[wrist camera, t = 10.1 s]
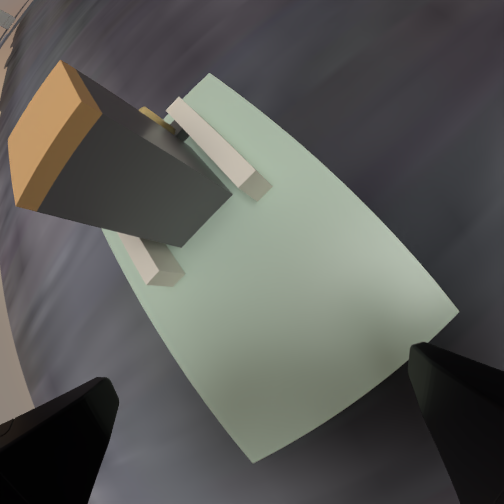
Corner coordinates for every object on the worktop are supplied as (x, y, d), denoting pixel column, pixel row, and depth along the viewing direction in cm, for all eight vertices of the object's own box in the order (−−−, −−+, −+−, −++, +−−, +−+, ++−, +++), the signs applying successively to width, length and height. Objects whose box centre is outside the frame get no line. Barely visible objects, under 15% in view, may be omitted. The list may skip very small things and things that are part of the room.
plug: (232, 194, 18) (81, 101, 8) (181, 247, 19) (15, 205, 9) (190, 146, 20) (60, 59, 10) (146, 195, 21) (7, 139, 11)
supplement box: (15, 18, 87) (-1, 9, 76) (16, 18, 85) (0, 9, 73) (6, 29, 88) (-9, 21, 77) (7, 30, 86) (-9, 21, 74)
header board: (453, 310, 14) (485, 317, 9) (260, 455, 16) (221, 496, 12) (217, 81, 21) (179, 41, 16) (102, 210, 24) (53, 195, 19)
